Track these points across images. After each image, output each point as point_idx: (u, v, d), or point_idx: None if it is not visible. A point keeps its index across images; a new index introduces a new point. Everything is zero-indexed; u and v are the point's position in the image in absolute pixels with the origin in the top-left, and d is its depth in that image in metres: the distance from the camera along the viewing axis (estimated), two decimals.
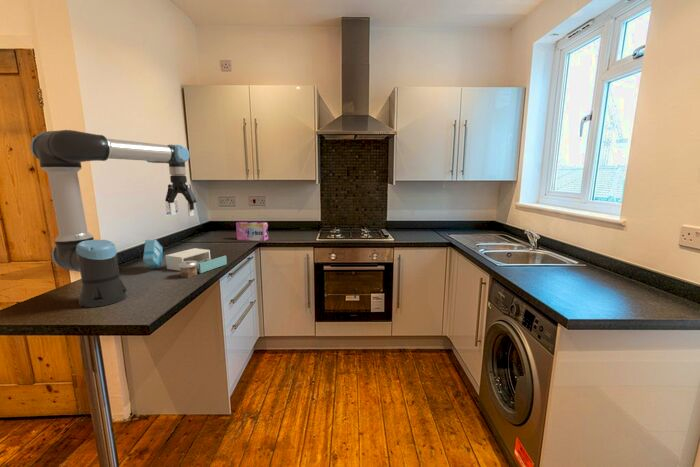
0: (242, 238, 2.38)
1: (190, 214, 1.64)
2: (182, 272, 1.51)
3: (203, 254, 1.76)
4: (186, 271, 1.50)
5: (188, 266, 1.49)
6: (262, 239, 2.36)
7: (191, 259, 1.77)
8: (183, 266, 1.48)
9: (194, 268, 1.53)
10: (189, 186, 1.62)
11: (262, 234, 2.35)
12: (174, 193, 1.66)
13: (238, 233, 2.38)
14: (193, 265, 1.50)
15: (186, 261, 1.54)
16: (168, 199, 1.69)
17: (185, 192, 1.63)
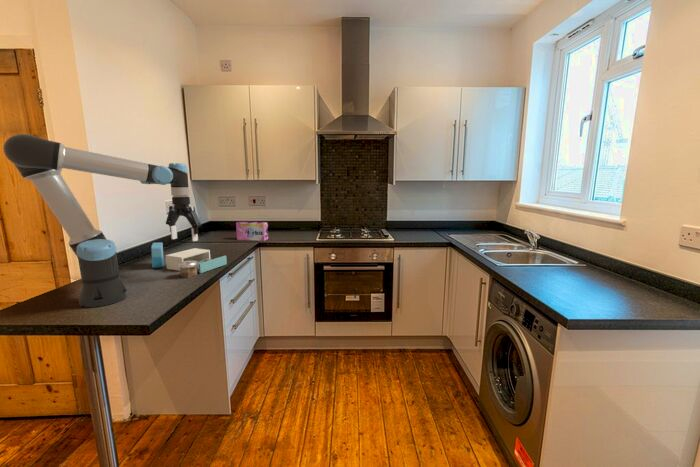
0: (242, 238, 2.38)
1: (194, 239, 1.49)
2: (182, 272, 1.51)
3: (203, 254, 1.76)
4: (186, 271, 1.50)
5: (188, 266, 1.49)
6: (262, 239, 2.36)
7: (191, 259, 1.77)
8: (183, 266, 1.48)
9: (194, 268, 1.53)
10: (193, 208, 1.48)
11: (262, 234, 2.35)
12: (176, 216, 1.51)
13: (238, 233, 2.38)
14: (193, 265, 1.50)
15: (186, 261, 1.54)
16: (169, 222, 1.54)
17: (188, 215, 1.49)
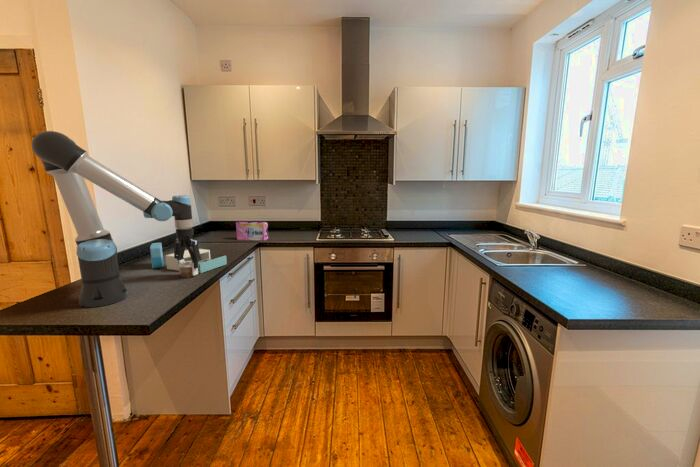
0: (242, 238, 2.39)
1: (194, 273, 1.50)
2: (182, 272, 1.51)
3: (203, 254, 1.76)
4: (186, 271, 1.50)
5: (188, 266, 1.49)
6: (262, 239, 2.36)
7: (191, 259, 1.77)
8: (183, 266, 1.48)
9: None
10: (196, 242, 1.48)
11: (262, 234, 2.36)
12: (181, 248, 1.51)
13: (238, 233, 2.38)
14: None
15: (186, 261, 1.54)
16: (177, 256, 1.54)
17: (191, 248, 1.49)
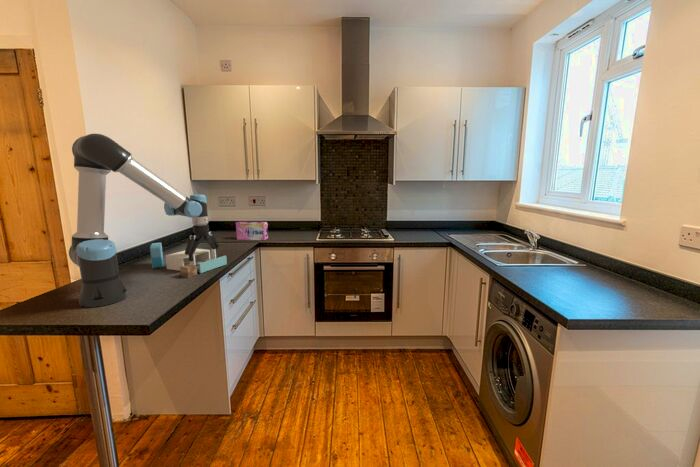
0: (242, 238, 2.40)
1: None
2: (182, 272, 1.51)
3: (203, 254, 1.76)
4: (186, 271, 1.50)
5: (196, 264, 1.64)
6: (262, 238, 2.38)
7: None
8: None
9: (194, 268, 1.53)
10: (191, 237, 1.57)
11: (262, 233, 2.37)
12: (206, 241, 1.67)
13: (238, 233, 2.39)
14: (197, 264, 1.63)
15: None
16: (215, 245, 1.73)
17: (195, 242, 1.60)
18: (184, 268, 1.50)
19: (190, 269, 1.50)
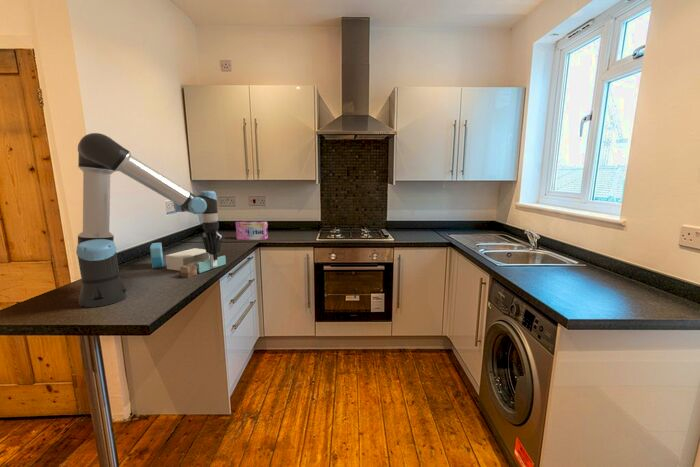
0: (242, 237, 2.40)
1: (213, 264, 1.62)
2: (182, 272, 1.51)
3: (203, 254, 1.76)
4: (186, 271, 1.50)
5: (195, 263, 1.64)
6: (263, 238, 2.40)
7: (191, 259, 1.77)
8: None
9: (194, 268, 1.53)
10: (221, 237, 1.59)
11: (263, 233, 2.39)
12: (209, 240, 1.60)
13: (238, 233, 2.40)
14: (196, 264, 1.63)
15: None
16: None
17: (214, 241, 1.60)
18: (184, 268, 1.50)
19: (190, 269, 1.50)
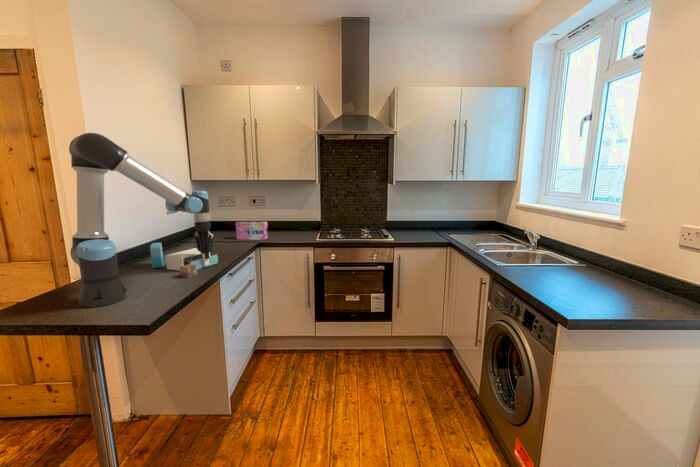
0: (242, 237, 2.40)
1: (205, 263, 1.64)
2: (182, 272, 1.51)
3: None
4: (186, 271, 1.50)
5: (187, 262, 1.67)
6: (263, 238, 2.40)
7: None
8: None
9: (194, 268, 1.53)
10: (212, 237, 1.61)
11: (263, 233, 2.39)
12: (201, 239, 1.63)
13: (238, 233, 2.40)
14: None
15: None
16: None
17: (206, 240, 1.62)
18: (184, 268, 1.50)
19: (190, 269, 1.50)
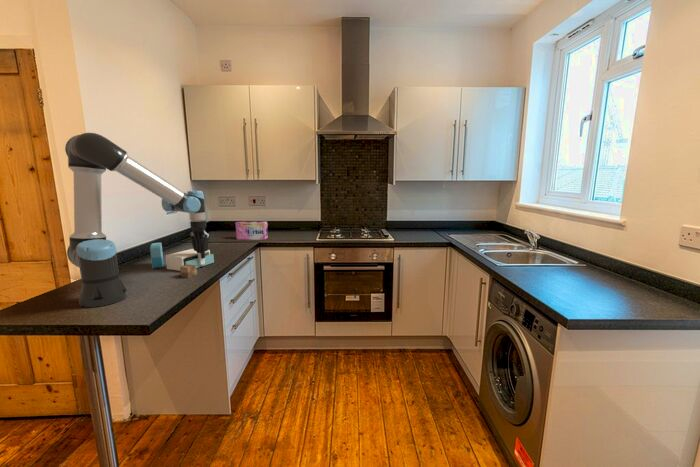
0: (242, 237, 2.41)
1: (201, 263, 1.65)
2: (182, 272, 1.51)
3: None
4: (186, 271, 1.50)
5: None
6: (263, 238, 2.40)
7: None
8: None
9: (194, 268, 1.53)
10: (208, 236, 1.62)
11: (263, 233, 2.40)
12: (197, 239, 1.64)
13: (238, 232, 2.40)
14: None
15: None
16: None
17: (202, 239, 1.63)
18: (184, 268, 1.50)
19: (190, 269, 1.50)
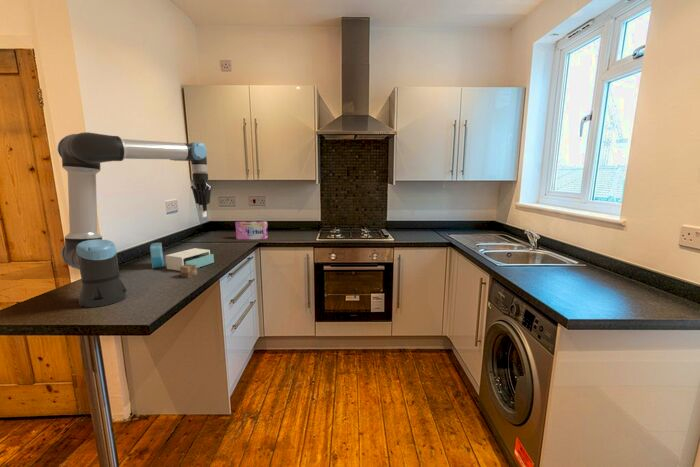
0: (242, 237, 2.41)
1: (203, 215, 1.69)
2: (182, 272, 1.51)
3: (203, 254, 1.76)
4: (186, 271, 1.50)
5: None
6: (263, 238, 2.41)
7: None
8: None
9: (194, 268, 1.53)
10: (210, 188, 1.65)
11: (263, 233, 2.41)
12: (199, 191, 1.67)
13: (238, 232, 2.41)
14: None
15: None
16: None
17: (204, 192, 1.67)
18: (184, 268, 1.50)
19: (190, 269, 1.50)
